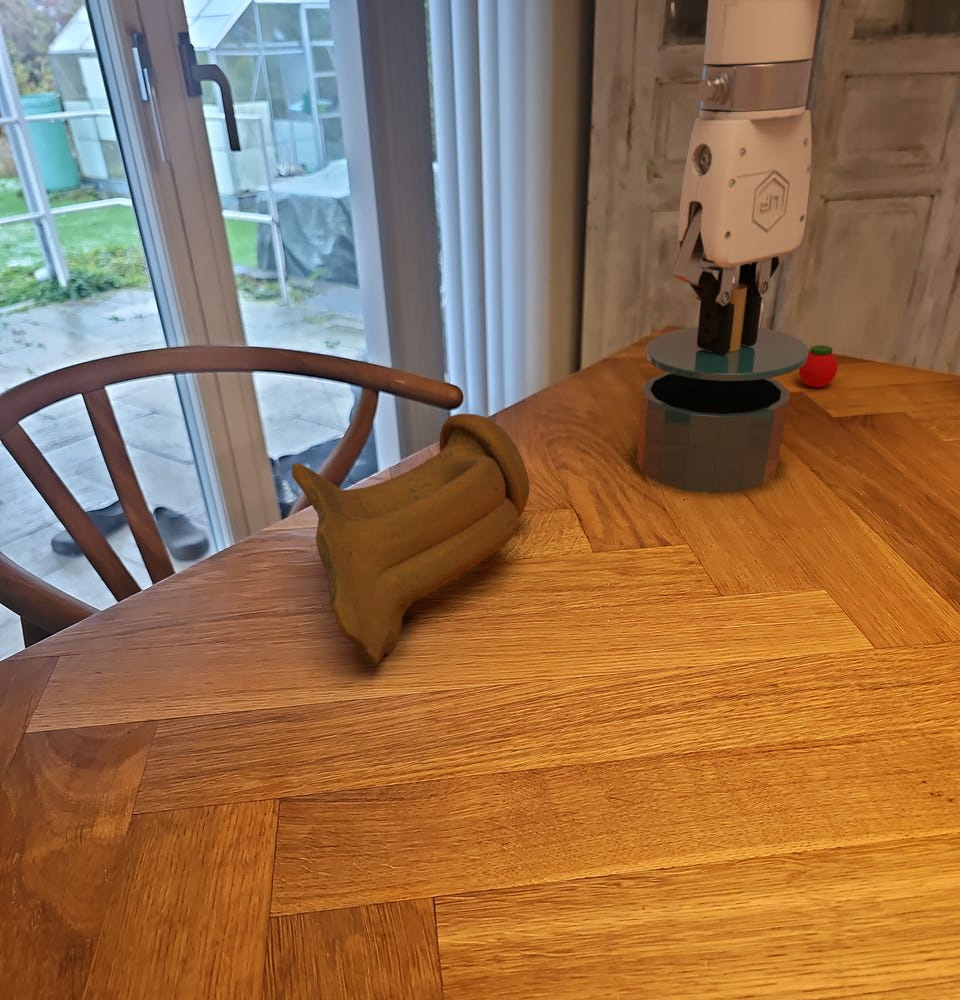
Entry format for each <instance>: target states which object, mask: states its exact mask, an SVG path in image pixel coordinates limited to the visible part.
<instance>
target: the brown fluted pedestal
mask: <svg viewBox="0 0 960 1000" xmlns="http://www.w3.org/2000/svg"><path fill="white" fill-rule="evenodd" d="M440 429H441V430H440V432H439V442H438V443H439V452H438V453H437V454H435V455H434V456H432V457H429V458H428V459H426V460H425V461H424V462H422V463H421V464H419V465H417V466H415V467H413V468H411V469H410V470H408V471H405V472H403V473H401V474H399V475H397V476H395V477H393V478H392V477H391V478H390V479H387V480H384V481H382V482H379V483H376V484H373V485H369V486H365V487H360V488H359V487H358V488H352V489H341V488H340V487H338V486H336V485H335V484H333V483H332V482H330V481H329V480H328V479H326V478H324V477H323V476H322V475H320V474H319V473H317V472H315V471H313V470H312V469H311V468H309V467H307V466H305V465H304V464H302V463H299V462H295V463H293V464H292V467H291V476H292V478H293V480H294V482H296V484H297V485H298V486H299V488H300V490H302V491H303V494H304V495H305V497H306V498H307V499H308V500H309V502H310V504H311V506H312V508H313V509H314V510H315V512H316V513H317V517H318V521H317V528H316V533H315V534H316V536H315V542H316V548H317V552H318V555H319V558H320V561H321V563H322V565H323V568H324V571H325V576H326V580H327V586H328V592H329V602H330V608H331V610H332V612H333V614H334V617H335V619H336V623H337V625H338V628H339V630H340V631H341V633H342V634H343V636H344V637H345V639H346V640H347V641H349V642H350V643H351V644H352V645H353V646H354V647H355V649H356V650H357V651H358V652H359V653H360V655H361V656H362V657H363V658H364V659H365V661H368V662H369V663H371V664H379V662H380V661H381V660H382V659H383V657H384V655H389V654H392V652H394V651H395V649H396V646H397V643H398V641H399V639H400V637H401V633H402V629H403V618H404V615H405V613H406V612H407V610H408V608H410V606H411V605H412V604H413V603H415V602H416V601H418V600H419V599H421V598H423V597H425V596H427V595H428V594H430V593H433V592H435V591H436V590H437V589H439V588H440V587H443V586H444V585H446V584H448V582H450V581H451V580H452V579H454V578H456V577H458V576H459V575H460V574H463V573H464V572H466V571H468V570H470V569H471V568H473V567H475V566H476V565H478V564H479V563H481V562H482V561H484V560H486V559H487V558H489V557H490V556H492V555H494V554H496V552H498V551H499V550H501V549H502V548H503V547H504V546H506V545H507V544H508V543H509V542H510V541H511V540H512V539H513V538H514V535H515V533H516V531H517V528H518V526H519V519H520V517H521V515H522V514H523V513H524V509H525V507H526V505H527V503H528V498H529V495H530V480H529V475H528V471H527V467H526V464H525V462H524V460H523V457H522V455H521V453H520V450H519V449H518V447H517V445H516V443H515V442H514V440H513V439H512V438H511V436H510V435H509V434H508V433H507V432H506V431H505V430H504V428H503V427H501V426H500V425H499V424H498V423H497V422H495V421H494V420H492V419H489V418H488V417H485V416H483V415H480V414H477V413H476V414H475V413H456V414H453V415H452V416H449V417H448V418H446V420H445V421H444V422H443V424H442V427H441V428H440Z"/></svg>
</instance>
